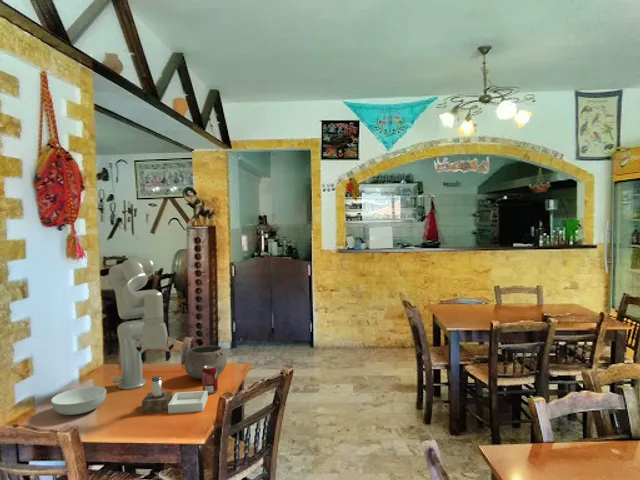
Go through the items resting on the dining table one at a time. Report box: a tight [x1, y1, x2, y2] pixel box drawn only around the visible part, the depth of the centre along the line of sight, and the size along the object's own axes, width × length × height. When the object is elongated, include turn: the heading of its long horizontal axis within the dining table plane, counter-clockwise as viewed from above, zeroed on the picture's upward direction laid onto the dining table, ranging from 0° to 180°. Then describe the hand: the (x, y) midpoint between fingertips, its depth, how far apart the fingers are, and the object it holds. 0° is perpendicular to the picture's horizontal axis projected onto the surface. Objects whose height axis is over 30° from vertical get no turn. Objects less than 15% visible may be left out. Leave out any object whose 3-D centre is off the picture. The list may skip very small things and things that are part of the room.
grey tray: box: [167, 390, 209, 414], centre depth 192 cm, size 14×14×4 cm
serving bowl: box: [50, 386, 107, 416], centre depth 191 cm, size 21×21×7 cm
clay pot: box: [184, 345, 228, 380], centre depth 228 cm, size 21×21×15 cm
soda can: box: [201, 365, 219, 395], centre depth 208 cm, size 7×7×12 cm
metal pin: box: [151, 375, 163, 399], centre depth 191 cm, size 4×4×13 cm
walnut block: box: [141, 390, 173, 414], centre depth 191 cm, size 10×10×5 cm
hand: (156, 361), depth 190 cm, fingers open, 9 cm apart
